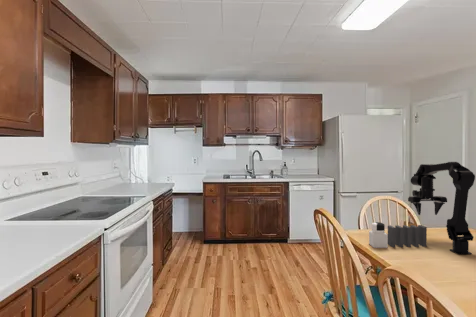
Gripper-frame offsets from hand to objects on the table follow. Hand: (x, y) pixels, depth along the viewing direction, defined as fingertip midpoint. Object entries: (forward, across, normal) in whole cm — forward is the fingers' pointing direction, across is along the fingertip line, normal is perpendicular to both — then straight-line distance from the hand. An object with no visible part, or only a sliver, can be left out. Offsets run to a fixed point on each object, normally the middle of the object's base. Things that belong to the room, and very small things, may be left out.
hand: (427, 214), depth 174 cm
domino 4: (+14, +13, +11) cm, 22 cm away
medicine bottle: (+14, +32, +11) cm, 37 cm away
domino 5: (+14, +9, +11) cm, 20 cm away
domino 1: (+14, +25, +11) cm, 31 cm away
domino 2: (+14, +21, +11) cm, 28 cm away
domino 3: (+14, +17, +11) cm, 25 cm away
